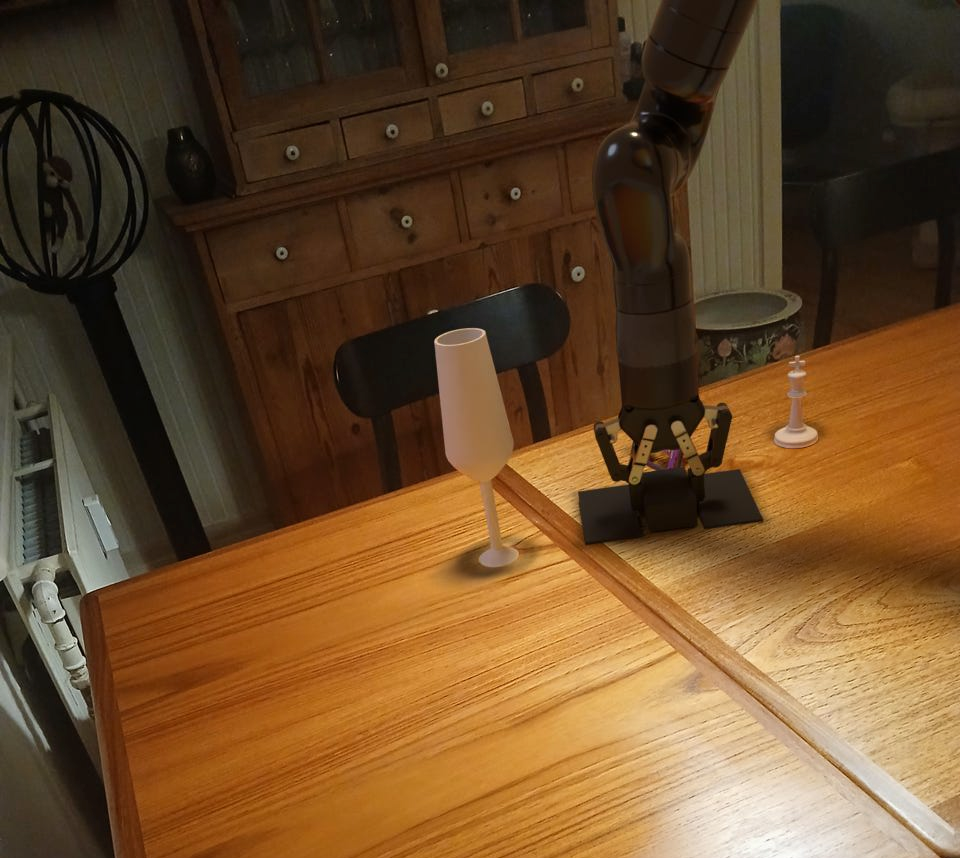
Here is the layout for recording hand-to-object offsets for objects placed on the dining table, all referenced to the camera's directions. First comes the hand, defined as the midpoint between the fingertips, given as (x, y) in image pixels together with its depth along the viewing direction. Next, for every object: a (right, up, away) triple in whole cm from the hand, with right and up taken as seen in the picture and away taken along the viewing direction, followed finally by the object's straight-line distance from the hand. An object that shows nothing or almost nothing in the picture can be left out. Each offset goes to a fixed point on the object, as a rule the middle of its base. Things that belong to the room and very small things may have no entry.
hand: (667, 507), depth 104 cm
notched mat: (0, 0, +2) cm, 2 cm away
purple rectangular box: (+3, +7, +13) cm, 15 cm away
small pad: (0, 0, 0) cm, 0 cm away
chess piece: (+17, +9, +12) cm, 23 cm away
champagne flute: (-18, -6, -1) cm, 19 cm away
